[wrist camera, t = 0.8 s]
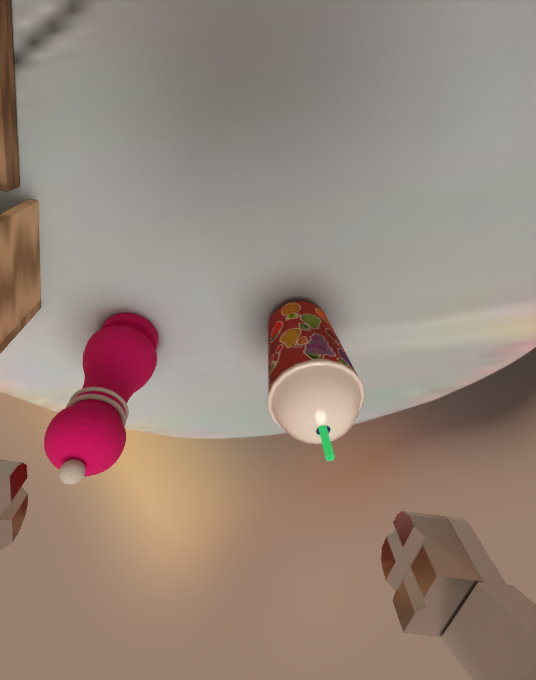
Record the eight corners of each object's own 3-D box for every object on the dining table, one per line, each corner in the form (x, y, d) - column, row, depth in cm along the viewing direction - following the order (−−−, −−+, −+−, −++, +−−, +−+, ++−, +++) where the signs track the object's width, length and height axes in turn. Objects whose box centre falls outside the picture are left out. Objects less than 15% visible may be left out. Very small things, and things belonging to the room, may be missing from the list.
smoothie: (260, 354, 48) (272, 497, 31) (259, 290, 44) (273, 418, 27) (329, 351, 49) (378, 491, 32) (335, 288, 44) (395, 412, 27)
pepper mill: (145, 300, 44) (87, 435, 27) (173, 352, 47) (137, 499, 31) (84, 318, 44) (-9, 461, 28) (116, 368, 48) (51, 521, 31)
